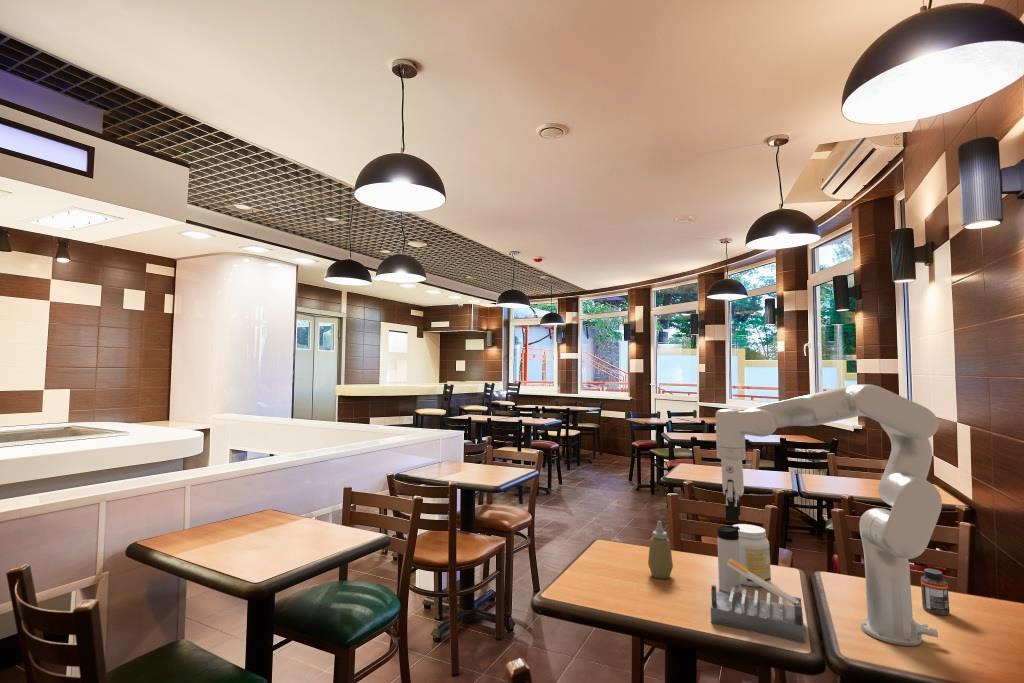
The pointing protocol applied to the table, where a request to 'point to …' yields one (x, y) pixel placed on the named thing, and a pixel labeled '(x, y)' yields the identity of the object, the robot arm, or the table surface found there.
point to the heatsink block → (757, 614)
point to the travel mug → (727, 550)
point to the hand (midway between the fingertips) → (733, 517)
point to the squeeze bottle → (660, 554)
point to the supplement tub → (754, 553)
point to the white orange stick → (761, 582)
